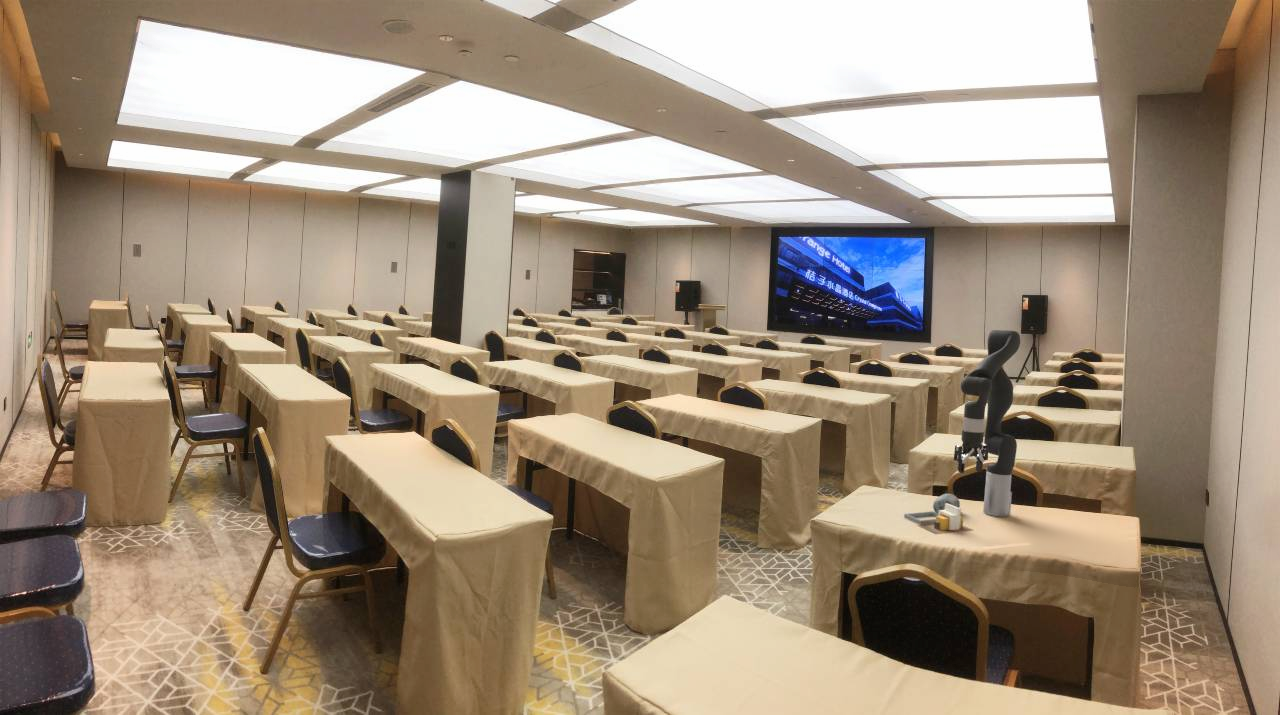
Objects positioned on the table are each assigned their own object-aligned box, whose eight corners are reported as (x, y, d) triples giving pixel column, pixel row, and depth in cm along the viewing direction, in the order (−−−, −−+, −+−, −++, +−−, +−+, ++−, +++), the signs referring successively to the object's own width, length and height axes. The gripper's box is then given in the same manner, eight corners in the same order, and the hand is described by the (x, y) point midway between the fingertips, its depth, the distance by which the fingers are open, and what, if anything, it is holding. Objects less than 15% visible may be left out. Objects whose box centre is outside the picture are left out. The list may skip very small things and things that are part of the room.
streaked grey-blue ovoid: (955, 514, 283) (947, 489, 287) (932, 519, 289) (924, 495, 293) (968, 515, 292) (960, 491, 296) (946, 521, 298) (938, 497, 302)
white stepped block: (945, 523, 277) (947, 503, 277) (959, 529, 271) (960, 508, 270) (937, 524, 276) (939, 504, 275) (950, 530, 270) (952, 509, 269)
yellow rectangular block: (954, 525, 277) (955, 514, 276) (961, 528, 273) (962, 517, 273) (935, 526, 274) (936, 516, 273) (942, 529, 270) (943, 519, 270)
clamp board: (954, 524, 281) (954, 515, 280) (973, 532, 271) (974, 523, 271) (916, 527, 275) (916, 519, 274) (935, 536, 265) (935, 527, 265)
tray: (931, 517, 289) (932, 511, 289) (948, 524, 280) (949, 518, 280) (904, 519, 284) (904, 513, 284) (920, 527, 276) (920, 521, 276)
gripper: (980, 427, 279) (977, 468, 280) (950, 428, 274) (947, 470, 276) (995, 430, 272) (992, 473, 273) (965, 432, 267) (962, 475, 269)
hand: (969, 471), depth 274 cm, fingers open, 8 cm apart
